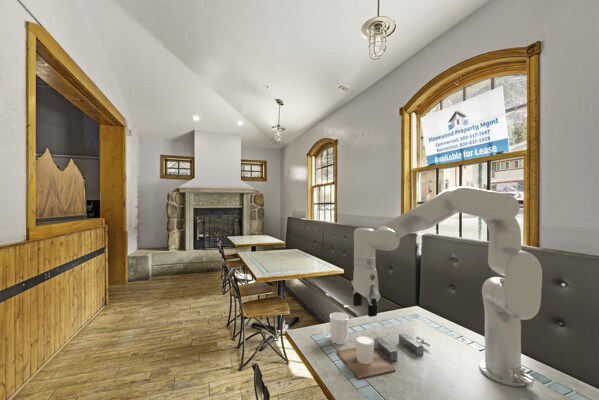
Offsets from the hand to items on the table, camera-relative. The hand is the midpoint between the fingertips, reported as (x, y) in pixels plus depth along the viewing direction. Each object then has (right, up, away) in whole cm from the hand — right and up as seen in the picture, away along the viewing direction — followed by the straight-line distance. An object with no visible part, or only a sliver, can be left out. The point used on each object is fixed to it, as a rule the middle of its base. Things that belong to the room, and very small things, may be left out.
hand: (364, 310), depth 95 cm
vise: (+17, -18, +7) cm, 26 cm away
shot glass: (0, -18, 0) cm, 18 cm away
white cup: (-7, -19, +14) cm, 24 cm away
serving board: (0, -18, 0) cm, 18 cm away
